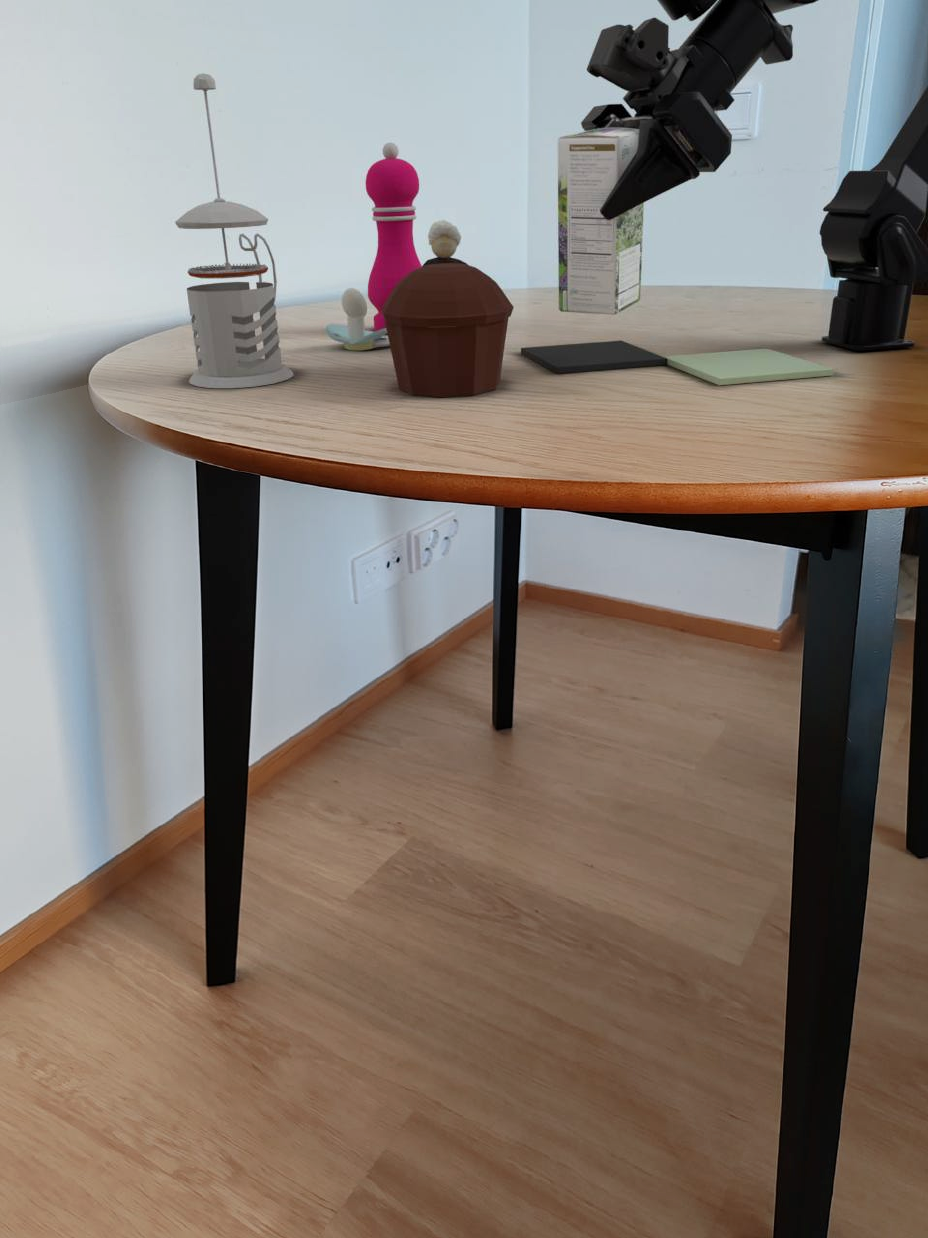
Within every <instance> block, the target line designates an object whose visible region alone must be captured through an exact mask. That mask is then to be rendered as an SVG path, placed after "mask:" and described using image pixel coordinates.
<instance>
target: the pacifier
mask: <svg viewBox="0 0 928 1238" xmlns="http://www.w3.org/2000/svg"><path fill="white" fill-rule="evenodd" d="M341 307H342V310H343V311H344V313H345V314H346V315H347V316H346V317H347V318H346V319H347V325H346V324H340V323H329V324H327V325H326V326H325V334H326V335H327V337H329V338H330V339H331V340H333V341H335V342H338V343H343V346H344V349H346V350H349V351H366V350H371V349H375V348H381V347H390V344H389V339H388V336H386V335H387V334H386V333H387V329H386V328H384V329H380V330H378V331H376V332H375V331H371V330H366V324H365V323H366V322H365V317H366V316H367V313H368V304H367V301H366V298H365V297H364V295H363V294H362V293H361V291H359V290H358V289H356V288H354V287H349V288H346V290H344V292H343V294H342V296H341Z"/></svg>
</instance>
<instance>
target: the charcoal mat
mask: <svg viewBox="0 0 928 1238" xmlns="http://www.w3.org/2000/svg"><path fill="white" fill-rule="evenodd" d="M520 354H521V355H522V356H524V357H526V358H528V359H530V360H531V361H533V362H535V363H537V364H539V365H541V366H542V367H544V368H546V369H547V370H550V371H551V372H553V373H555V374H557V375H559V374H570V373H583V372H594V371H608V370H609V371H610V370H619V369H633V368H645V367H656V366H657V367H658V366H666V365H667V358H665V357H666V356H663V355H661V354H660V355H659V354H657V353H654V352H652V351H649V350H646V349H644V348H641V347H639V346H637V345H633V344H632V343H629V342H626V341H623V340H609V341H596V342H595V341H594V342H583V343H567V344H555V345H541V346H527V347H520ZM667 366H668V365H667Z"/></svg>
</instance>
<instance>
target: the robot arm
mask: <svg viewBox="0 0 928 1238" xmlns="http://www.w3.org/2000/svg"><path fill="white" fill-rule="evenodd" d="M656 1H657V2H658V3H659V5H660V6H661V7H662V9H663V10H664V11H665V13H666V14H667V16H668V18H670V20H671V21H674V22H675V21H678V20H679V19H682V18H683V17H686V19H687V20H688V21H689V22H694V21H696V20H697V19H699V18H701V17H702V16H703V15H705V16H704V17H703V18H702V19H701V21H700V22H699V23H698V24H697V25H696V27H695V28H694V29H693V31H692V32H691V33H690V34H689V35H688V36H687V38H686V39H685V40H684V41H683V43H682V44H681V45H680V46H679V47H678V48H675V49H673V50H671V48H670V47H669V32H670V31H669V29H670V26H669V24H667V23H665V22H664V21H662V20H660V19H658V18H657V17H651V18H648V19H646V20H644V21H643V22H641V23H640V24H639V25H638V26H637V27H636V28H635V29H633V28H634V26H633V25H632V24H626V25H624V24H615V25H612V26H609V27H606V28H603V29H601V31H600V34H599V36H598V38H597V41H596V43H595V46H594V49H593V51H592V54H591V57H590V59H589V62H588V64H587V67H586V71H587V73H589V74H590V75H591V76H593V77H595V78H601V79H603V80H605V81H607V82H609V83H611V84H613V85H615V86H616V87H618V88H620V89H622V90H624V91H626V92H627V93H626V94H624V96H623V97H622V100H623V101H624V103H625V104H626V105H627V106H628V107H629V109H631V110H634V112H635V113H634V116H632V114H631V113H630V112H629V111H628V109H627V108H626V107H625V106H624V104H623V103H608V104H607V103H606V104H602V105H596V106H593V107H592V109H591V110H590V111H589V112H588V113H587V115H586V116H584V118H583V119H582V120H581V122H580V125H581V128H582V129H583V131H588V130H593V129H599V128H610V127H622V128H634V129H639V140H638V150H637V152H636V154H635V155H634V157H633V159H632V160H631V162H630V163H629V165H628V166H627V168H626V169H625V171H624V172H623V174H622V176H621V177H620V179H619V180H618V182H617V183H616V185H615V186H614V188H613V189H612V191H611V193H610V194H609V196H608V197H607V199H606V201H605V203H604V204H603V206H602V208H601V209H600V213H601V214H602V216H603V217H604V218H605V219H606V220H611V219H613V218H615V217H617V216H619V215H621V214H623V213H625V212H627V211H629V210H630V209H632V208H634V207H636V206H638V205H640V204H642V203H644V204H645V203H646V202H648V201H649V200H652V199H654V198H656V197H658V196H660V195H662V194H663V193H666V192H668V191H670V190H672V189H674V188H677V187H678V186H680V185H683V184H684V183H687V182H689V181H691V180H696V179H698V177H700V175H701V173H716V172H717V170H718V169H719V168H720V167H721V165H722V164H723V163H724V162H725V161H726V160H727V159H728V157H729V156H730V155H731V153H732V141H733V134H732V133H731V132H730V130H729V129H728V128H727V126H726V125H725V124H724V122H723V121H722V120H721V118H720V117H719V115H718V114H717V113H716V112H720V111H727V110H728V109H729V108H730V106H731V105H732V104H733V103H734V102H735V98H734V97H733V95H732V94H731V93H732V92H733V91H734V89H735V88H736V87H737V86H738V84H739V83H740V82H741V81H742V80H743V79H744V77H745V76H746V75H747V74H748V73H749V72H750V70H751V69H752V68H753V67H754V65H755V64H757V62H758V61H759V59H761V61H762V62H763V63H764V64H765V65H767V66H768V65H773V64H779V63H784V62H789V61H791V60H792V59H793V56H794V49H793V48H794V45H793V38H792V36H793V35H792V34H793V30H794V26H793V25H792V24H785V25H784V24H780V23H779V21H778V20H777V18H776V17H775V16H774V15H775V14H777V13H781V12H784V11H788V10H792V9H796V8H800V7H803V6H807V5H810V4H811V5H812V4H814V3H816V2H818V1H819V0H656ZM705 13H707V14H705ZM927 202H928V85H927V86H926V88H925V90H924V91H923V92H922V94H921V96H920V97H919V99H918V101H917V102H916V103H915V106H914V107H913V109H912V111H911V112H910V113H909V116H908V117H907V118H906V120H905V122H904V123H903V125H902V126H901V128H900V130H899V131H898V133H897V135H896V136H895V138H894V139H893V141H892V143H891V144H890V146H889V147H888V148H887V150H886V152H885V153H884V156H883V157H882V159H880V161H879V162H878V163H877V164H876V165H875V166H874V167H872V168H870V170H849V171H847V173H846V175H845V176H844V177H843V178H842V180H841V183H840V184H839V187H838V190H837V191H836V193H835V195H834V196H833V198H832V199H831V200H830V202H829V203H827V204H826V205H825V206H824V207H823V208H822V211H823V212H824V213H826V214H825V216H824V219H823V221H822V223H821V224H820V228H819V235H820V238H821V239H820V242H821V247H822V250H823V252H824V255H826V259H827V265H828V271H829V276H830V278H833V279H839V281H838V287H837V293H836V296H834V297H833V298H832V306H831V312H830V320H829V326H828V327H829V328H828V335H824V336H822V337H821V342H823V343H827V344H831V345H834V346H838V347H841V348H846V349H849V350H853V351H856V352H857V351H858V352H863V351H876V350H877V351H878V350H887V349H901V348H912V347H915V344H916V343H915V341H914V340H910V339H905V338H906V331H907V325H908V320H909V315H910V314H909V313H910V307H911V301H912V295H913V290H914V286H915V285H919V284H925V283H926V282H927V281H928V248H927V246H926V244H925V243H924V242H923V240H922V239H921V237H920V235H918V231H919V230H920V228H921V225H922V223H923V221H924V219H925V217H926V212H927Z"/></svg>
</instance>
